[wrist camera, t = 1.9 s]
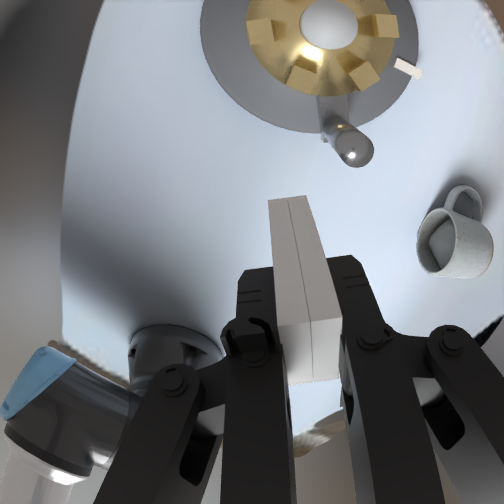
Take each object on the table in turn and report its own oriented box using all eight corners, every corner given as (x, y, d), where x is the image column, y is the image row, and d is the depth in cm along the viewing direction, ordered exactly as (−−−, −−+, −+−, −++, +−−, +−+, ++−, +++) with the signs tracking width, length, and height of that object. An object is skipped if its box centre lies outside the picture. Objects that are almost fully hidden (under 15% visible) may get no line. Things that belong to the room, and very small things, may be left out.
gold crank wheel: (235, -23, 19) (227, -54, 12) (370, -29, 18) (412, -52, 11) (266, 143, 28) (271, 177, 21) (389, 131, 27) (432, 161, 20)
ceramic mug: (453, 258, 38) (479, 294, 32) (408, 249, 37) (433, 288, 31) (485, 190, 32) (520, 220, 26) (440, 173, 31) (476, 202, 25)
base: (224, 143, 30) (217, 167, 24) (186, -43, 19) (167, -67, 13) (417, 123, 28) (452, 144, 22) (394, -54, 17) (426, -72, 11)
